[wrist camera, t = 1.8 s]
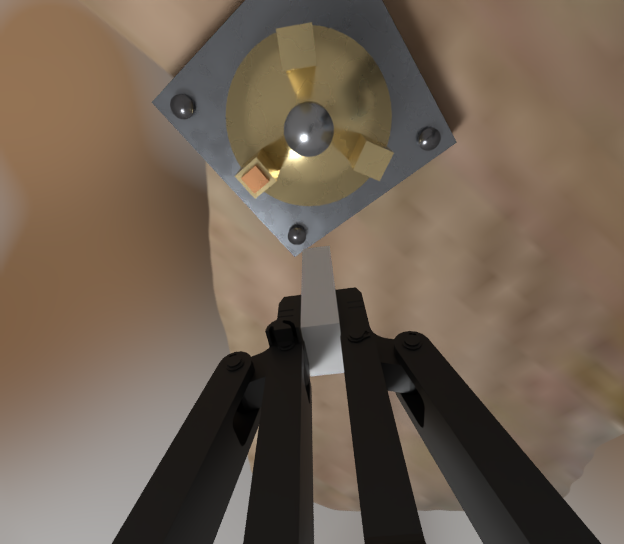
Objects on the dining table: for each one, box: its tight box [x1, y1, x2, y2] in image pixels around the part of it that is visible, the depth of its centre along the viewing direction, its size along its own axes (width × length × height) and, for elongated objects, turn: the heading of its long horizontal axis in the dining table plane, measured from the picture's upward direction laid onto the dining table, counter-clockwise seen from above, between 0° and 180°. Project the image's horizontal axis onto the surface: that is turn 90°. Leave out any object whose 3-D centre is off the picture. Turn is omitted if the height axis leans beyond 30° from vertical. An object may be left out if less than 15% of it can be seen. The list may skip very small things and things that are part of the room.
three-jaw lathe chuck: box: [226, 22, 394, 206], centre depth 27 cm, size 14×14×6 cm
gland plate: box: [152, 0, 456, 257], centre depth 31 cm, size 20×20×3 cm
